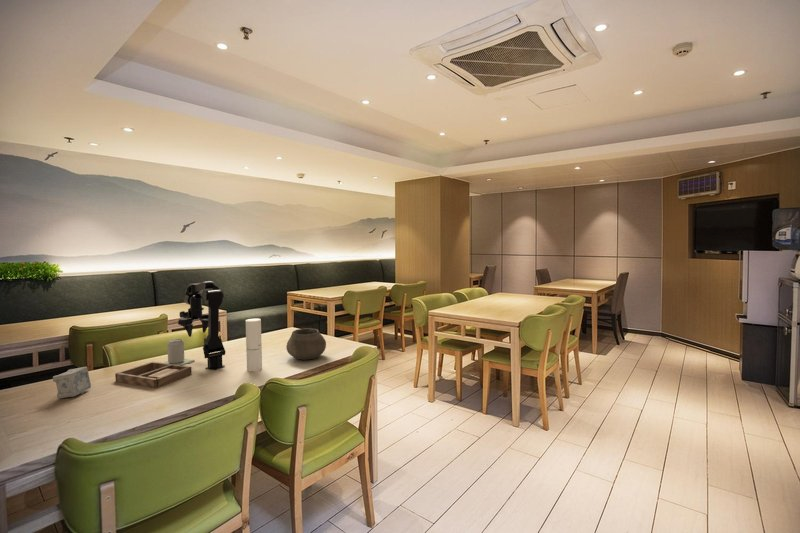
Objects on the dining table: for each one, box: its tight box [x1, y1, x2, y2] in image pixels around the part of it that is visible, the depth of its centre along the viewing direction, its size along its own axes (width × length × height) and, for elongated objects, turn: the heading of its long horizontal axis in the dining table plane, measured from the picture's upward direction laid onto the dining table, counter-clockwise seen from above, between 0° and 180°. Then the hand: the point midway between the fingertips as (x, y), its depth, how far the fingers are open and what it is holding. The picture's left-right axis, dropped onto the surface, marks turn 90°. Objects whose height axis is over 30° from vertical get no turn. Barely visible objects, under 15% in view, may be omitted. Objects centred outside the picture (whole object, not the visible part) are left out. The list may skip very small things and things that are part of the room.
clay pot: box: [285, 327, 327, 361], centre depth 211 cm, size 22×21×15 cm
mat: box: [163, 358, 195, 366], centre depth 202 cm, size 12×12×1 cm
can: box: [166, 338, 185, 364], centre depth 201 cm, size 8×8×12 cm
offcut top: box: [148, 369, 179, 379], centre depth 177 cm, size 7×10×2 cm, turn 168°
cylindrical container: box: [245, 317, 263, 372], centre depth 192 cm, size 7×7×25 cm
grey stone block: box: [52, 366, 92, 400], centre depth 161 cm, size 10×8×10 cm
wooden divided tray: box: [114, 361, 192, 389], centre depth 180 cm, size 25×18×4 cm
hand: (197, 334), depth 210 cm, fingers open, 9 cm apart
